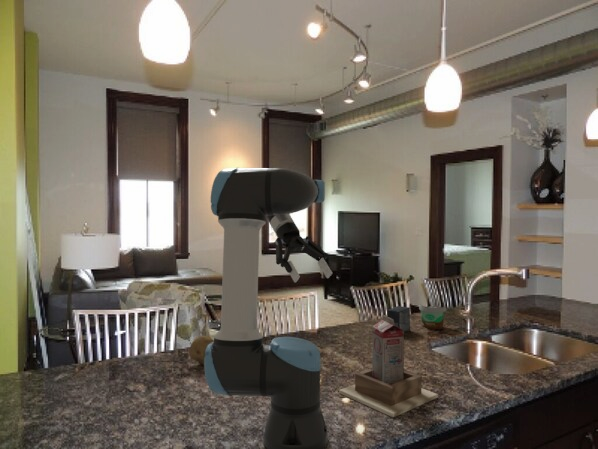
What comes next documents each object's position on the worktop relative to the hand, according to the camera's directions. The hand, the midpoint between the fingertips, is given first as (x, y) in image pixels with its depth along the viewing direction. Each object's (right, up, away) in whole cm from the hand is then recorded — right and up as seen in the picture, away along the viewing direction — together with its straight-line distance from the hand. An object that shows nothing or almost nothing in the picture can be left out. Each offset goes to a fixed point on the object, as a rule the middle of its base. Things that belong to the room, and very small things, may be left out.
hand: (314, 277), depth 141 cm
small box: (+40, -31, +58) cm, 77 cm away
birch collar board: (+21, -33, -11) cm, 41 cm away
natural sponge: (-39, -32, +15) cm, 53 cm away
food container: (+57, -31, +64) cm, 91 cm away
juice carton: (+21, -32, -11) cm, 40 cm away
